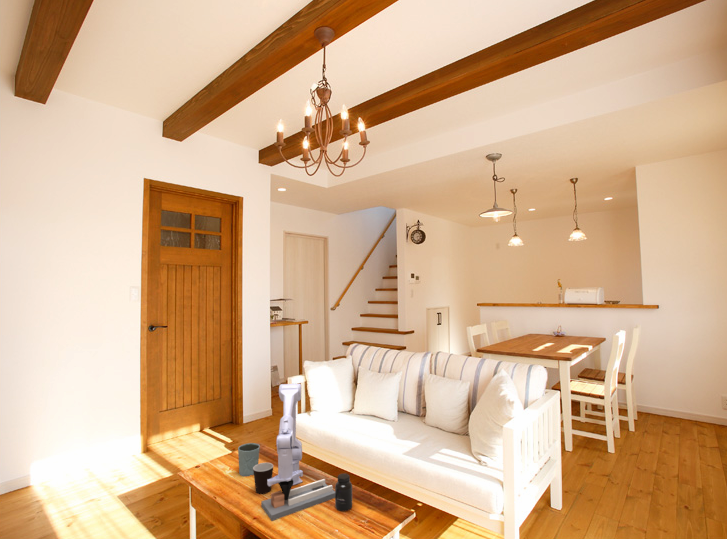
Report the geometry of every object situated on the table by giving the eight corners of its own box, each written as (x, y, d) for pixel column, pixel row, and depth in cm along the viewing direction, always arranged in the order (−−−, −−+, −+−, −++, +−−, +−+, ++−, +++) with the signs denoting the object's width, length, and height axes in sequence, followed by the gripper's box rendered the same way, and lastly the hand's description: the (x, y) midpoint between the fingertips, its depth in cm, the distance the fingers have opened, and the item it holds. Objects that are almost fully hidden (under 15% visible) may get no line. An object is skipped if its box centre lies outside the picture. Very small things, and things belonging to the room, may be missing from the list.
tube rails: (282, 497, 155) (282, 492, 155) (324, 483, 165) (324, 478, 166) (289, 505, 148) (289, 500, 149) (332, 490, 159) (332, 485, 159)
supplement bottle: (337, 513, 146) (336, 481, 147) (333, 503, 153) (333, 473, 153) (354, 510, 148) (353, 478, 149) (350, 501, 155) (349, 471, 155)
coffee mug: (268, 496, 160) (268, 472, 160) (249, 494, 161) (249, 470, 162) (279, 482, 171) (279, 460, 172) (262, 481, 173) (261, 459, 173)
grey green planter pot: (236, 470, 185) (236, 445, 185) (258, 465, 189) (257, 441, 190) (239, 479, 175) (239, 452, 176) (261, 474, 180) (261, 448, 180)
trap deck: (261, 506, 152) (261, 501, 152) (322, 485, 167) (322, 481, 168) (271, 521, 142) (271, 515, 142) (336, 497, 158) (336, 492, 158)
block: (271, 503, 150) (270, 493, 150) (280, 500, 152) (280, 490, 153) (274, 508, 147) (274, 497, 147) (284, 505, 149) (284, 494, 149)
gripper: (271, 473, 145) (271, 509, 144) (305, 462, 153) (306, 497, 152) (265, 466, 151) (265, 501, 150) (298, 457, 159) (299, 490, 158)
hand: (285, 499), depth 152 cm, fingers closed
